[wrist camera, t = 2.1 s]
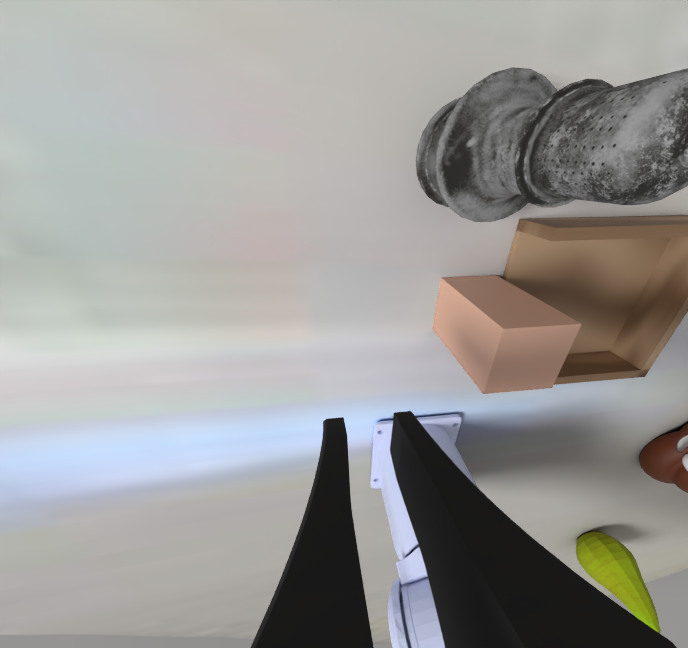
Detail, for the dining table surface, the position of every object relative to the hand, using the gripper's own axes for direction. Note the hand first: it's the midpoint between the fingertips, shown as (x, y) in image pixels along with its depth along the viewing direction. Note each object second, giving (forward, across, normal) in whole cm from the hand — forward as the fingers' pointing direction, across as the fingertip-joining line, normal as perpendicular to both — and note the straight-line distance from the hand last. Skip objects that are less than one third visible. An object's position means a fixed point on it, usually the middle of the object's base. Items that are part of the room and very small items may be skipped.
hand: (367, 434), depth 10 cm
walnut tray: (+10, -18, 0) cm, 20 cm away
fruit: (+11, -37, +40) cm, 56 cm away
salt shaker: (+11, -7, -9) cm, 16 cm away
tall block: (+10, -9, 0) cm, 14 cm away
